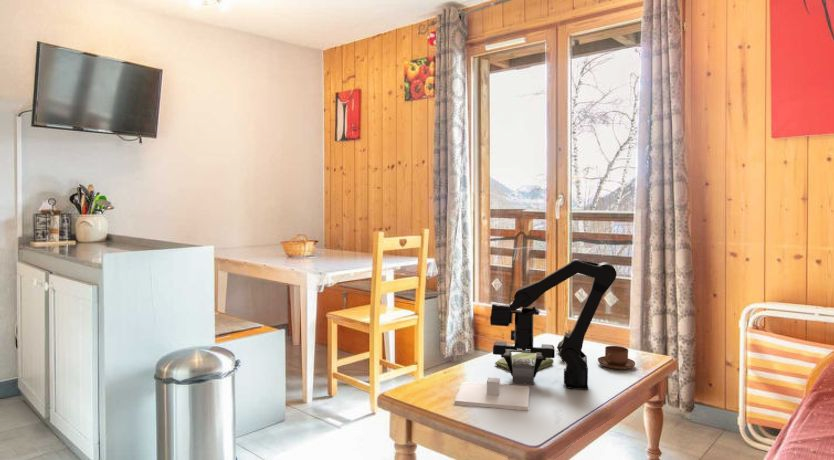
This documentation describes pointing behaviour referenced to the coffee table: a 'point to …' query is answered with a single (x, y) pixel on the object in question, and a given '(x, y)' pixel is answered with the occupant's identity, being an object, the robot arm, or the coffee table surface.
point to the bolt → (559, 350)
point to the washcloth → (522, 355)
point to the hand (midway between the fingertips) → (523, 376)
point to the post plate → (493, 395)
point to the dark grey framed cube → (523, 371)
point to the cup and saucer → (616, 358)
